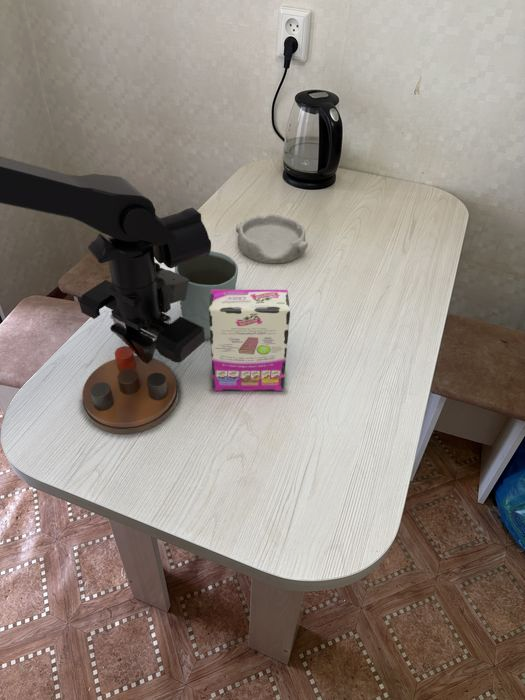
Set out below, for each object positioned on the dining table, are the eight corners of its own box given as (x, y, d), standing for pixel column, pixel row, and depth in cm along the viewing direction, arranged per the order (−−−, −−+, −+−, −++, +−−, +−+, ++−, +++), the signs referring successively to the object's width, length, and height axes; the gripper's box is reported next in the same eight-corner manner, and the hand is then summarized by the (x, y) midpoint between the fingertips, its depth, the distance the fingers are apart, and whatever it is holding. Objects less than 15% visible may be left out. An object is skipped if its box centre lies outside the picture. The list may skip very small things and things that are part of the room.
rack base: (86, 443, 70) (84, 438, 70) (82, 373, 80) (80, 367, 79) (186, 423, 74) (185, 418, 73) (170, 357, 83) (169, 352, 82)
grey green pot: (171, 314, 91) (165, 258, 83) (222, 299, 95) (221, 244, 87) (193, 349, 85) (189, 292, 77) (247, 332, 89) (248, 276, 80)
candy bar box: (281, 369, 82) (289, 288, 71) (283, 392, 79) (292, 310, 68) (213, 368, 82) (210, 287, 71) (211, 391, 78) (208, 309, 67)
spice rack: (86, 436, 70) (80, 418, 67) (81, 368, 79) (76, 349, 76) (183, 416, 73) (181, 398, 70) (168, 353, 82) (166, 335, 79)
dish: (313, 260, 106) (316, 240, 102) (252, 272, 102) (252, 251, 98) (286, 226, 115) (287, 206, 112) (228, 236, 111) (228, 215, 108)
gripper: (228, 273, 68) (228, 356, 78) (126, 229, 74) (139, 311, 85) (173, 316, 61) (182, 401, 71) (66, 263, 68) (88, 347, 78)
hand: (147, 361), depth 77 cm, fingers closed
